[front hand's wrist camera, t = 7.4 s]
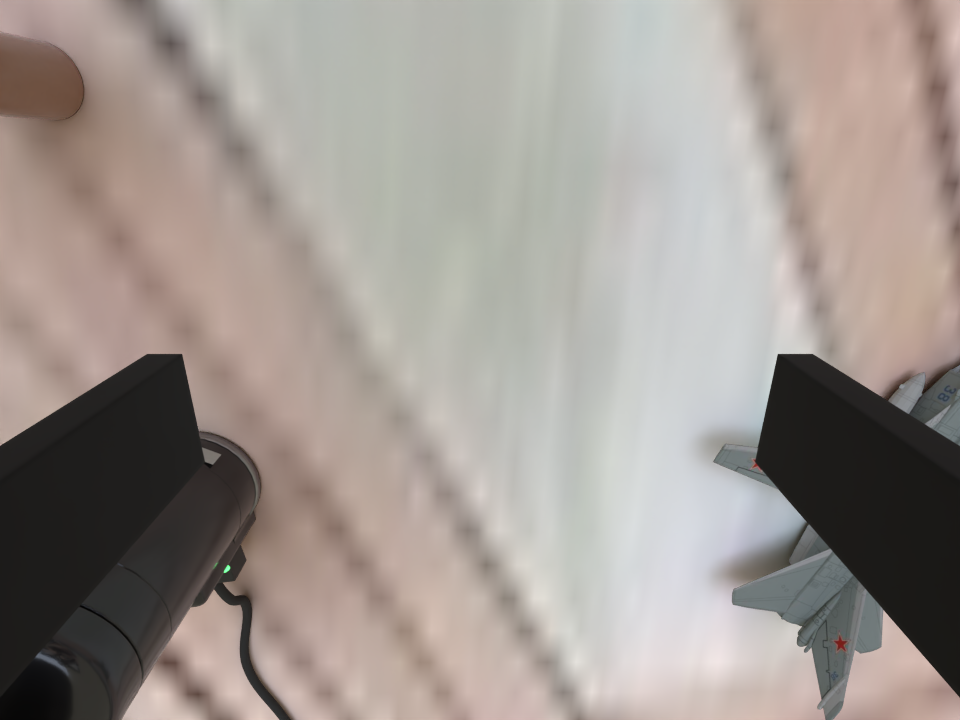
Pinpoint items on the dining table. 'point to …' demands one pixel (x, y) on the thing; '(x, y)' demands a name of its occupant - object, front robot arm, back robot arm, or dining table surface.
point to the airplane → (836, 561)
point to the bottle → (37, 80)
